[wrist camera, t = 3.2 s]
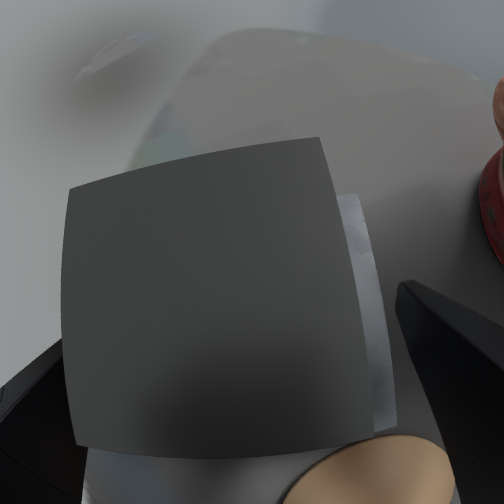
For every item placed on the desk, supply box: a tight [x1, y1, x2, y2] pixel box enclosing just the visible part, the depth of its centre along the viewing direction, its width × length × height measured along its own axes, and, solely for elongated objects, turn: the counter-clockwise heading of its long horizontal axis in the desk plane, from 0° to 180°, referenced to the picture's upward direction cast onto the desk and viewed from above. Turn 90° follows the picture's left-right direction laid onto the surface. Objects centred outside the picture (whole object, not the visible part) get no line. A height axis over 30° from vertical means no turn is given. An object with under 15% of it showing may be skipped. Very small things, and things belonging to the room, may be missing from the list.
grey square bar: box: [61, 137, 375, 459], centre depth 9 cm, size 4×4×12 cm
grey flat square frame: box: [336, 193, 397, 432], centre depth 14 cm, size 12×12×2 cm
